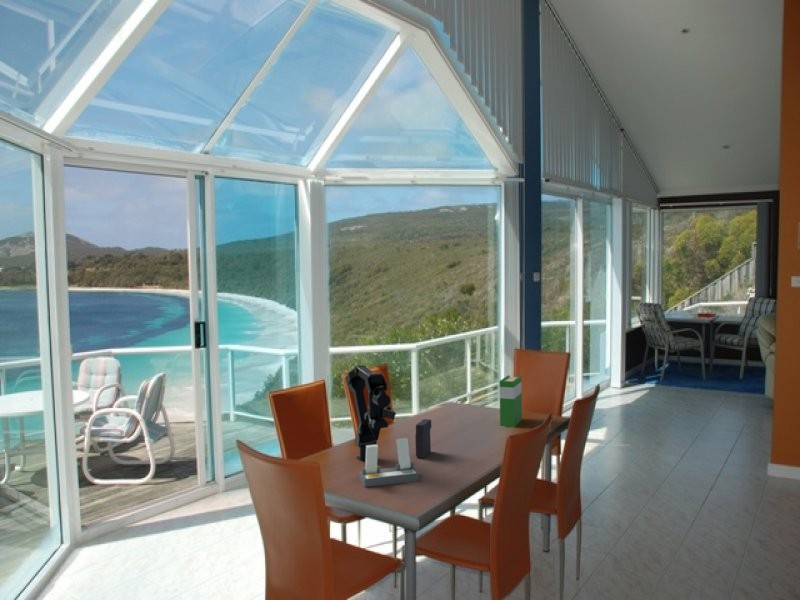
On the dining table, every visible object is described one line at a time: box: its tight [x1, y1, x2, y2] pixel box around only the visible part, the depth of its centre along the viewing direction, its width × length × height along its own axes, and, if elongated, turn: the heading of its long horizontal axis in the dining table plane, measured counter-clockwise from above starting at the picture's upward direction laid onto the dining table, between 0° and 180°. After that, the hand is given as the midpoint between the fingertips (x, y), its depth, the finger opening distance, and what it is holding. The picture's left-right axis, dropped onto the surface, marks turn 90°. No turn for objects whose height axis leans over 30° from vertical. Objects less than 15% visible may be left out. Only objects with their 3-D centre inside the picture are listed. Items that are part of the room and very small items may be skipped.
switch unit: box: [358, 461, 420, 488], centre depth 252 cm, size 10×22×5 cm, turn 106°
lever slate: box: [395, 437, 411, 469], centre depth 257 cm, size 2×4×12 cm, turn 105°
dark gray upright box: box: [414, 418, 432, 459], centre depth 284 cm, size 11×4×15 cm, turn 159°
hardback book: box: [499, 374, 523, 428], centre depth 336 cm, size 18×7×24 cm, turn 156°
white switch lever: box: [364, 443, 379, 473], centre depth 250 cm, size 2×4×12 cm, turn 105°
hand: (376, 439), depth 267 cm, fingers closed
